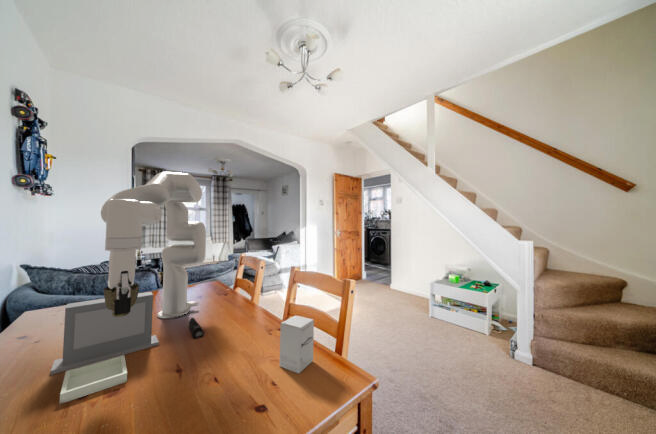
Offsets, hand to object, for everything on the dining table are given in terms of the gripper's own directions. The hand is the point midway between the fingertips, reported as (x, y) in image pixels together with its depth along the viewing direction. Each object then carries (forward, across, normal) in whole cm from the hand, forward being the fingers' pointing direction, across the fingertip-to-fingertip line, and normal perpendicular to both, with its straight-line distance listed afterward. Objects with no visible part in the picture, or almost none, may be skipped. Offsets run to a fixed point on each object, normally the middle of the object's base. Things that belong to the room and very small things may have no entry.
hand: (121, 309), depth 64 cm
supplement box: (+18, +29, +38) cm, 51 cm away
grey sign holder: (+18, -16, -1) cm, 24 cm away
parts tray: (+18, -1, -4) cm, 18 cm away
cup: (+2, 0, 0) cm, 2 cm away
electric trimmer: (+18, -16, +23) cm, 33 cm away
